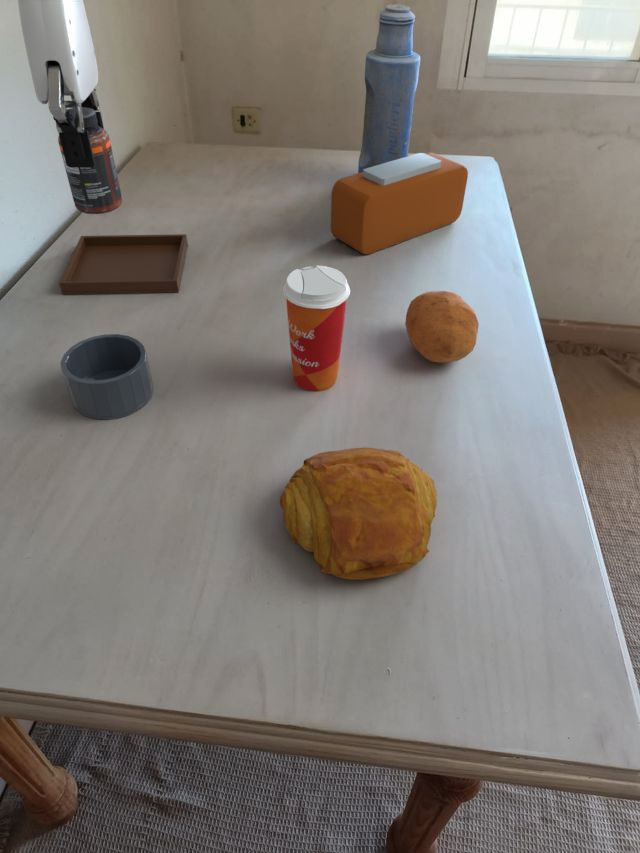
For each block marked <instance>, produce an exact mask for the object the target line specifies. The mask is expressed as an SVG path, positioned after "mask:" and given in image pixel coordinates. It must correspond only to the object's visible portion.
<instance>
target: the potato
mask: <svg viewBox="0 0 640 853" xmlns="http://www.w3.org/2000/svg"><path fill="white" fill-rule="evenodd" d="M404 326H405V330H406V333H407V335H408V338H409V341H410V343H411V344H412V346H413V347H414V348H415V349H416V351H418V352H419V354H420V355H421V356H423V357H424V359H426V360H428V361H430V362H433V363H437V364H441V363H442V364H443V363H452V362H457V361H460V360H462V359H464V358H466V357H467V356H469V354H471V353H472V352H473V351H474V348H475V346H476V345H477V338H478V333H479V321H478V318H477V315H476V312H475V310H474V309H473V308H472V307H471V306H470V305H469V304H468V303H467V302H466V301H465V300H464V299H463V298H462V297H461V296H460V295H458V294H457V293H455V292H452V291H447V290H435V291H433V290H432V291H425V292H422V293H421V294H419V295H417V296H416V297H414V298H413V299H412V300H411V301H410V303H409V306H408V308H407V311H406V314H405V322H404Z"/></svg>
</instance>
